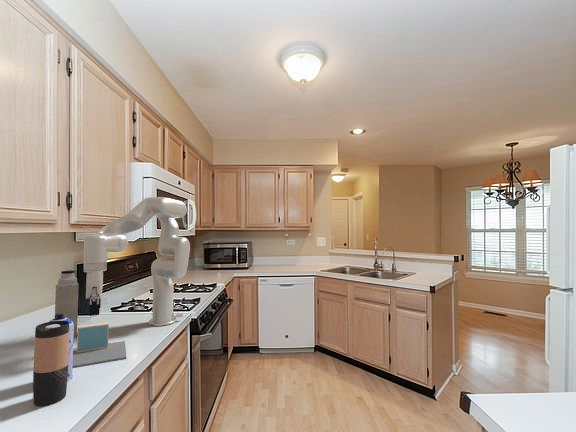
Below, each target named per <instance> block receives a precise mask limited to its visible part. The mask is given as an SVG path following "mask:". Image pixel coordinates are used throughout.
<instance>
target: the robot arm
mask: <svg viewBox="0 0 576 432" xmlns="http://www.w3.org/2000/svg"><path fill="white" fill-rule="evenodd" d="M187 207H188V206H187V205H186V203H185V202H184V201H182V200H178V199H174V198H170V197H165V196H164V197H163V196H150V197H145V198H144V199H142V200H141V201H140V202H139V203H138V204H136V205H135V207H133V208H132V209H131V210H130V211H129V212H128V213H127V214H125V215H123V216H121V217H119V218H117V219H115V220H113V221H110V222H108V223H107V224H105V225H104V226H103V227H102V228H101V229H100V230H98V231H97V232H96V233H95V234H87V235H85V236H84V238H83V272H84V273H86V283H85V285H86V286H85V299H86V300H89V305H88V306H89V308H88V316H90V317H92V316H99V315H100V310H101V302H102V301H101V298H102V294H103V287H104V284H103V283H104V272H105V271H107V269H108V268H107V267H108V266H107V265H108V261H107V259H108V258H107V257H108V256H107V255H108V253H120V252H123V251H124V250H126V249H127V248H128V246H129V239H128V237H127V236H126V235H125V234H128V233H129V234H130V233H132V232H135V231H138V230H140V229H143V228H144V227H145V225H146V224H147V223H148V222H149V221H150V220H152V218H153V217H155V216H156V217H157V219H158V221H159V223H160V227H161V229H160V233H159V234H160V235H159V239H158V246H157V250H158V252H159V254H160V255H162V256H171V257H172V256H173V257H174V258H173V257H172V258H171V257H160V258H156V259H155V260H153V262H152V263H151V267H150V271H151V276H152V277H151V278H152V310H151V311H152V313H151V315H152V318H151V319H149V320H148V325H150V326H154V327H162V326H169V325H172V324H174V323H176V322H177V318H183V316H184V313H183V312H175V311H174V289H175V288H174V282H173V280H172V279H181V278H183V277H184V276H185V275H186V274H187V271H188V266H189V259H190V252H191V243H190V241H189V239H188V238H186V237H184V236H179V230H180V228H179V224H178V222H177V220H176V219H181V218H184V217H185V216H186V214H187V211H188V208H187Z"/></svg>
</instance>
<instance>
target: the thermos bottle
mask: <svg viewBox="0 0 576 432" xmlns="http://www.w3.org/2000/svg"><path fill="white" fill-rule="evenodd" d="M75 275H76V271H75V270H72V269H71V270H70V269H69V270H63V271H62V270H61V272H60V278H58V279H57V284H56V285H55V297H54V298H55V302H54V315H55V314H64V317H66V318H69V319H70V320H71V321H73V324H74V336H73V338H76V337H77V332H78V317H79V315H78V313H79V312H78V311H79V308H78V307H79V282H78V278H77V277H75Z"/></svg>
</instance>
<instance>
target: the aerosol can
mask: <svg viewBox="0 0 576 432" xmlns="http://www.w3.org/2000/svg"><path fill="white" fill-rule="evenodd" d="M52 321H68V322H69V358H68V376H67V383H68V382H71V381H72V380H73V377H74V375H73V368H72V365H73V349H74V337H73V336H74V324H73V321H71V320H70V319H69V318H66V317H64V314H55V313H54V318H52V319H50V320H49V321H48V322H52Z"/></svg>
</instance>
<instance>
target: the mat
mask: <svg viewBox="0 0 576 432" xmlns="http://www.w3.org/2000/svg"><path fill="white" fill-rule="evenodd" d="M126 359H127V349H126V341H125V340H123V341H121V340H120V341H116V342H115V341H114V342H110V343H109V342H108V348H104V349H97V350H91V351H85V352H78V353H77V347H75V348H74V347H73V365H72V369H74V368H80V367H86V366H91V365H96V364H97V365H98V364H102V363H109V362H114V361H120V360H126Z"/></svg>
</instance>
